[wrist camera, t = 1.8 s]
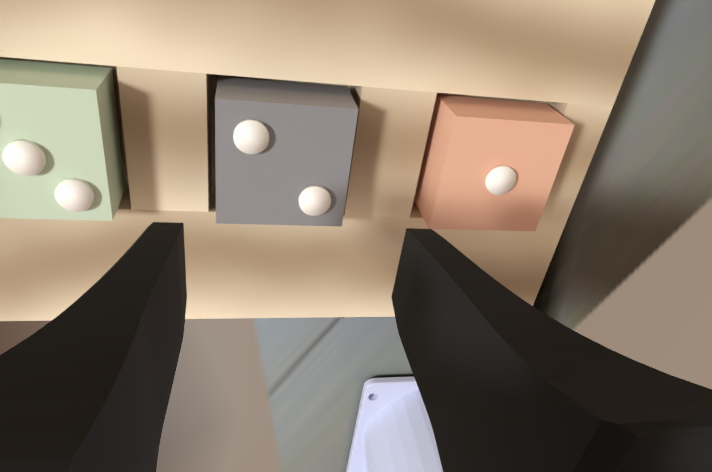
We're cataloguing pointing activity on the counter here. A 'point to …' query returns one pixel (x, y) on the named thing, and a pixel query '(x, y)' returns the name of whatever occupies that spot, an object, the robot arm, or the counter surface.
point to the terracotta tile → (489, 163)
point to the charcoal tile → (282, 152)
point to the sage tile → (58, 142)
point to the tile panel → (370, 149)
